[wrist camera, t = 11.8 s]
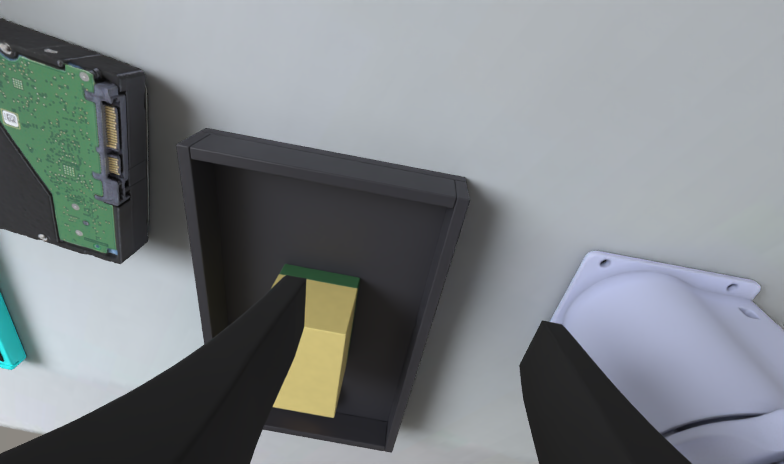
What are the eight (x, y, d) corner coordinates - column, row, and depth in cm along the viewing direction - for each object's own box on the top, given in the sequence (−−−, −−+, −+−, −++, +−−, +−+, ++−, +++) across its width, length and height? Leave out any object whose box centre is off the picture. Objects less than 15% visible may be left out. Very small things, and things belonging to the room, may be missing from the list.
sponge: (360, 277, 22) (346, 334, 18) (348, 356, 26) (333, 418, 22) (284, 263, 22) (254, 317, 18) (283, 344, 26) (257, 404, 22)
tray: (465, 177, 19) (470, 200, 17) (394, 419, 30) (392, 453, 28) (205, 127, 19) (175, 144, 17) (230, 390, 30) (214, 421, 28)
